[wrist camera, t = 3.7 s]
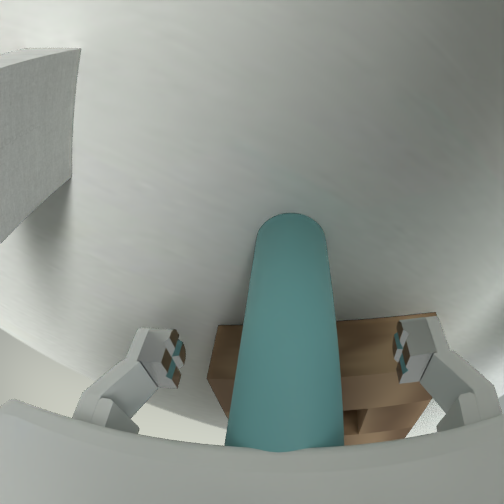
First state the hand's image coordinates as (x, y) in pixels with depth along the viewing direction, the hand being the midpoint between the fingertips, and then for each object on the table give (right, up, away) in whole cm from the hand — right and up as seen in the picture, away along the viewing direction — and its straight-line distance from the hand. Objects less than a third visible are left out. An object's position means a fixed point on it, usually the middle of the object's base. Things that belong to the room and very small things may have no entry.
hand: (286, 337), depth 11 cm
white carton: (-11, +10, +1) cm, 15 cm away
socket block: (+5, -7, +12) cm, 14 cm away
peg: (+1, +3, +5) cm, 6 cm away
